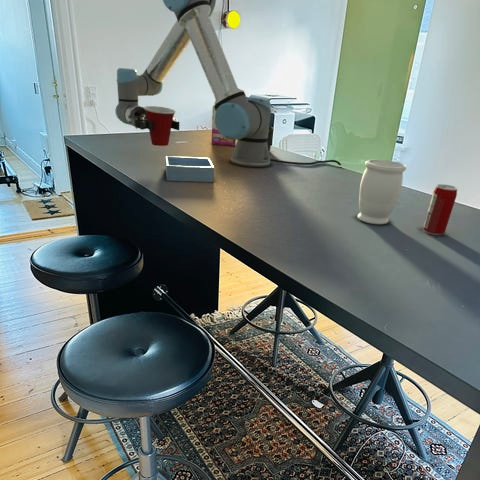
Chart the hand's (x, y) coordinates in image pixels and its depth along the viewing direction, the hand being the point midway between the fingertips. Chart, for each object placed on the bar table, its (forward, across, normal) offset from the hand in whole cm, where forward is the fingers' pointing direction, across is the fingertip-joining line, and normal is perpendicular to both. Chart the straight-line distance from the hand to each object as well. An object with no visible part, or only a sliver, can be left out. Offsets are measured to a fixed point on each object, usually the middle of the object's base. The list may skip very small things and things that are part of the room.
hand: (166, 126), depth 152 cm
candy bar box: (-35, -47, -14) cm, 60 cm away
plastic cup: (-5, 0, -7) cm, 8 cm away
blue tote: (+15, -1, -13) cm, 20 cm away
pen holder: (-17, -56, -14) cm, 60 cm away
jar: (+74, -25, -14) cm, 80 cm away
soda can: (+88, -33, -14) cm, 95 cm away
